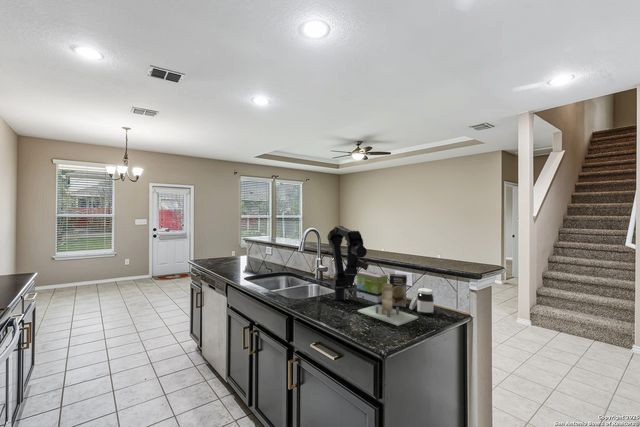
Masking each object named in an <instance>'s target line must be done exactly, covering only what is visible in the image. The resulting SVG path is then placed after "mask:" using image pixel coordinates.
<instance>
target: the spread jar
mask: <svg viewBox="0 0 640 427" xmlns="http://www.w3.org/2000/svg"><path fill="white" fill-rule="evenodd" d="M417 289H418V293H417V296H414V297H413V298H412V300H411V302H410V304H409V310H410V311H411V310H414V309H415V308H416V311H417V313H418V314H419V315H422V316H431V315H433V314H434V305H435V304H434V301H435V300H434V295H433V292H434V291H433V290H432V289H430V288H426V287H423V288H422V287H420V288H417Z"/></svg>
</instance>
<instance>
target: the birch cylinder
mask: <svg viewBox="0 0 640 427" xmlns="http://www.w3.org/2000/svg"><path fill="white" fill-rule="evenodd" d="M381 305H382V314H384V315H387V310H390V315H391V314H392V309H393V306H392V284H390V283H388V282H387V283H384V284H382V302H381Z"/></svg>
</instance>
